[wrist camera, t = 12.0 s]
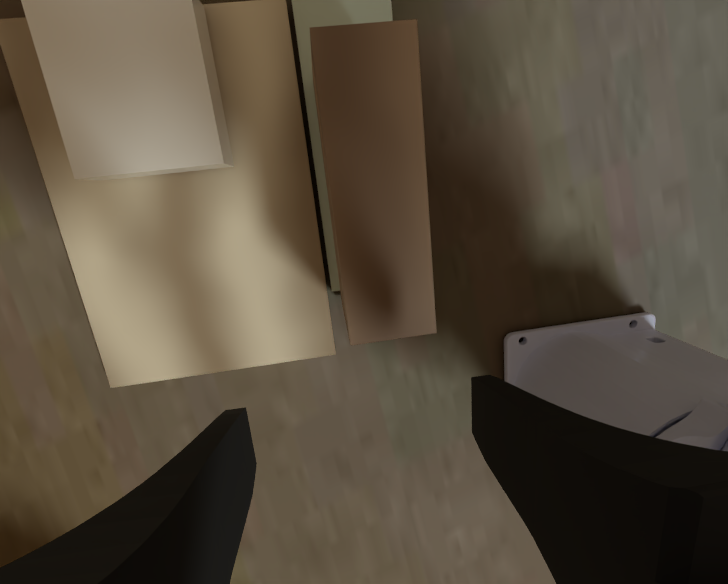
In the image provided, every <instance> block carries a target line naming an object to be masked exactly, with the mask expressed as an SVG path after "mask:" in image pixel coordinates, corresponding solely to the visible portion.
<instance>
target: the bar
mask: <svg viewBox="0 0 728 584" xmlns="http://www.w3.org/2000/svg"><path fill="white" fill-rule="evenodd" d="M310 42H311V58H312V75H313V85H314V93H315V101H316V108H317V116H318V124H319V131H320V139H321V147H322V154H323V162H324V169H325V177H326V185H327V192H328V200H329V208H330V215H331V223H332V230H333V238H334V246H335V253H336V261H337V269H338V276H339V284H340V292H341V299H342V305H343V310H344V315H345V320H346V325H347V330H348V335H349V340H350V345H351V346H352V345H358V344H365V343H372V342H379V341H385V340H392V339H399V338H406V337H413V336H419V335H426V334H433V333H437V331H436V315H435V299H434V283H433V267H432V251H431V235H430V219H429V203H428V187H427V171H426V155H425V139H424V123H423V107H422V91H421V75H420V59H419V43H418V27H417V19H411V20H399V21H386V22H373V23H361V24H348V25H335V26H323V27H310Z"/></svg>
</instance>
